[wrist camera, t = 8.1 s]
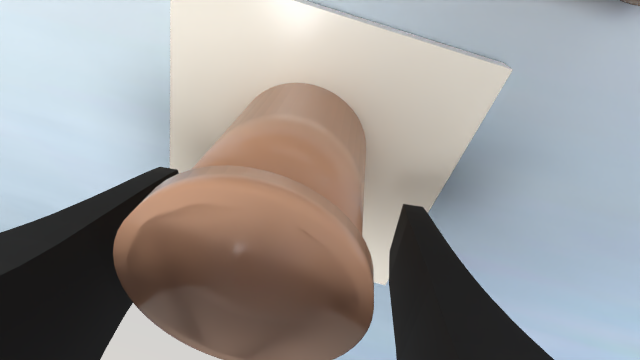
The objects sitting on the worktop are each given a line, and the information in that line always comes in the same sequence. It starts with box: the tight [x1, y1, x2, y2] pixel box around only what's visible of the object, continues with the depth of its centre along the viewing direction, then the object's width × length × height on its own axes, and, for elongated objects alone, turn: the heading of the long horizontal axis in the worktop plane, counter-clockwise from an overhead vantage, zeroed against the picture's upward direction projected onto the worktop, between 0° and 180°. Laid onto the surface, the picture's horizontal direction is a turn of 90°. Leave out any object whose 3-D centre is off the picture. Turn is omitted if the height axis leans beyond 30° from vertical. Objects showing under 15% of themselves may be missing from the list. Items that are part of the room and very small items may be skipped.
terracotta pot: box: [113, 83, 374, 360], centre depth 10 cm, size 6×6×7 cm
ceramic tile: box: [170, 0, 512, 285], centre depth 14 cm, size 11×11×1 cm
